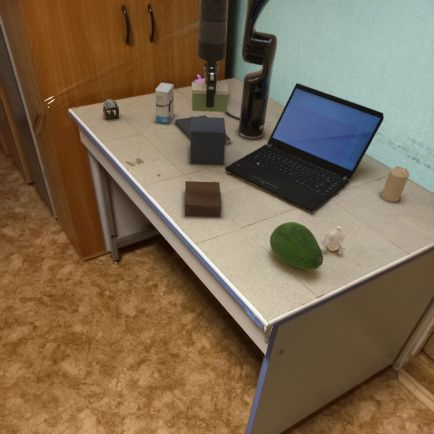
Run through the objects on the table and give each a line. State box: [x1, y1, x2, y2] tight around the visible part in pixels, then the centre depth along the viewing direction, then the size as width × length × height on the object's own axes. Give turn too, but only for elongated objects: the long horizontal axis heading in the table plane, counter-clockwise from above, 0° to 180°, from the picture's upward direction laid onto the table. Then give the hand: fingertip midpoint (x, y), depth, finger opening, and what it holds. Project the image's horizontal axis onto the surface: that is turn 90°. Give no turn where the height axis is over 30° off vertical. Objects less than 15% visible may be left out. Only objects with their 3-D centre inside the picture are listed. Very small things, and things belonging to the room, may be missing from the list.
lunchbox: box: [191, 81, 230, 113], centre depth 122 cm, size 6×10×6 cm, turn 93°
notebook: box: [174, 115, 231, 145], centre depth 155 cm, size 13×2×21 cm
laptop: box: [224, 82, 385, 213], centre depth 133 cm, size 33×38×19 cm
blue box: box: [189, 116, 227, 166], centre depth 139 cm, size 11×11×11 cm
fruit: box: [269, 221, 324, 271], centre depth 104 cm, size 15×10×10 cm, turn 33°
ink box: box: [154, 82, 175, 125], centre depth 158 cm, size 8×5×12 cm, turn 168°
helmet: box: [102, 98, 120, 120], centre depth 157 cm, size 6×8×7 cm
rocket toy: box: [323, 224, 346, 255], centre depth 109 cm, size 5×5×8 cm
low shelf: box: [184, 180, 222, 218], centre depth 121 cm, size 12×10×4 cm
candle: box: [380, 165, 410, 203], centre depth 129 cm, size 6×6×10 cm
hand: (209, 102), depth 123 cm, fingers closed on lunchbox, 6 cm apart
